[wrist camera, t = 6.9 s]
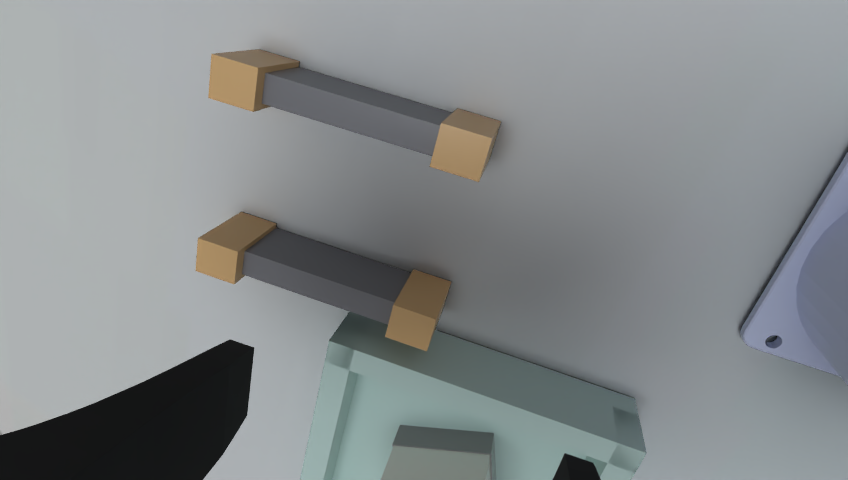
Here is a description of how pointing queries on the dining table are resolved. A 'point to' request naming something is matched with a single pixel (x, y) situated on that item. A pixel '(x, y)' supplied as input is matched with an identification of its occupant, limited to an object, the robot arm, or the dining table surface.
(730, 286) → the dining table surface
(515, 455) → the tray
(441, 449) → the gray block
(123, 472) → the robot arm
